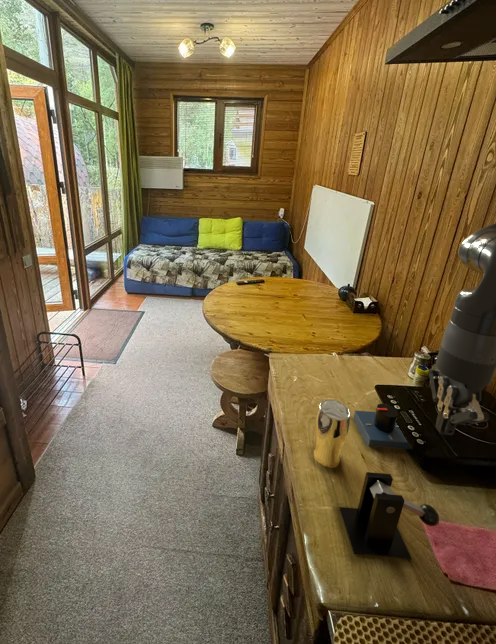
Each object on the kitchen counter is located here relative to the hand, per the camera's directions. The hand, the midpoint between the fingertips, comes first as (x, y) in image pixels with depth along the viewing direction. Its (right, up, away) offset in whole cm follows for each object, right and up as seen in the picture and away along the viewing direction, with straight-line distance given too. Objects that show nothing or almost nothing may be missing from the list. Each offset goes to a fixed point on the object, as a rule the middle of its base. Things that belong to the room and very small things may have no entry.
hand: (443, 431), depth 57 cm
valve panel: (+3, -14, +25) cm, 29 cm away
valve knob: (+3, -11, +24) cm, 27 cm away
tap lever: (-8, -14, 0) cm, 16 cm away
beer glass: (-15, -16, +18) cm, 28 cm away
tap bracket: (-12, -21, +2) cm, 24 cm away
